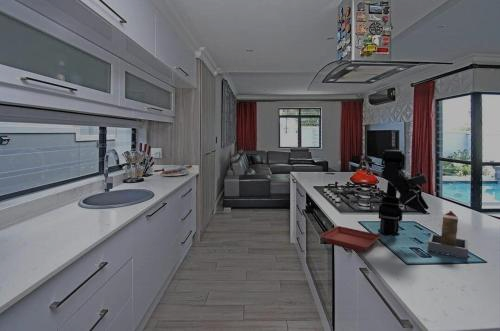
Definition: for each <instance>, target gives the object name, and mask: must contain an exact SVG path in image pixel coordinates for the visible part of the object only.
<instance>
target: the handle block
mask: <svg viewBox="0 0 500 331" xmlns="http://www.w3.org/2000/svg"><path fill="white" fill-rule="evenodd" d="M456 216H457V215H456ZM456 216H449V215H445V214H443V216H442V226H441V235H442V236H441V244H446V245H451V246H455V245H456V238H457V234H458V232H457V231H458V223H459V222H458V221H459V216H457V217H456Z"/></svg>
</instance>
